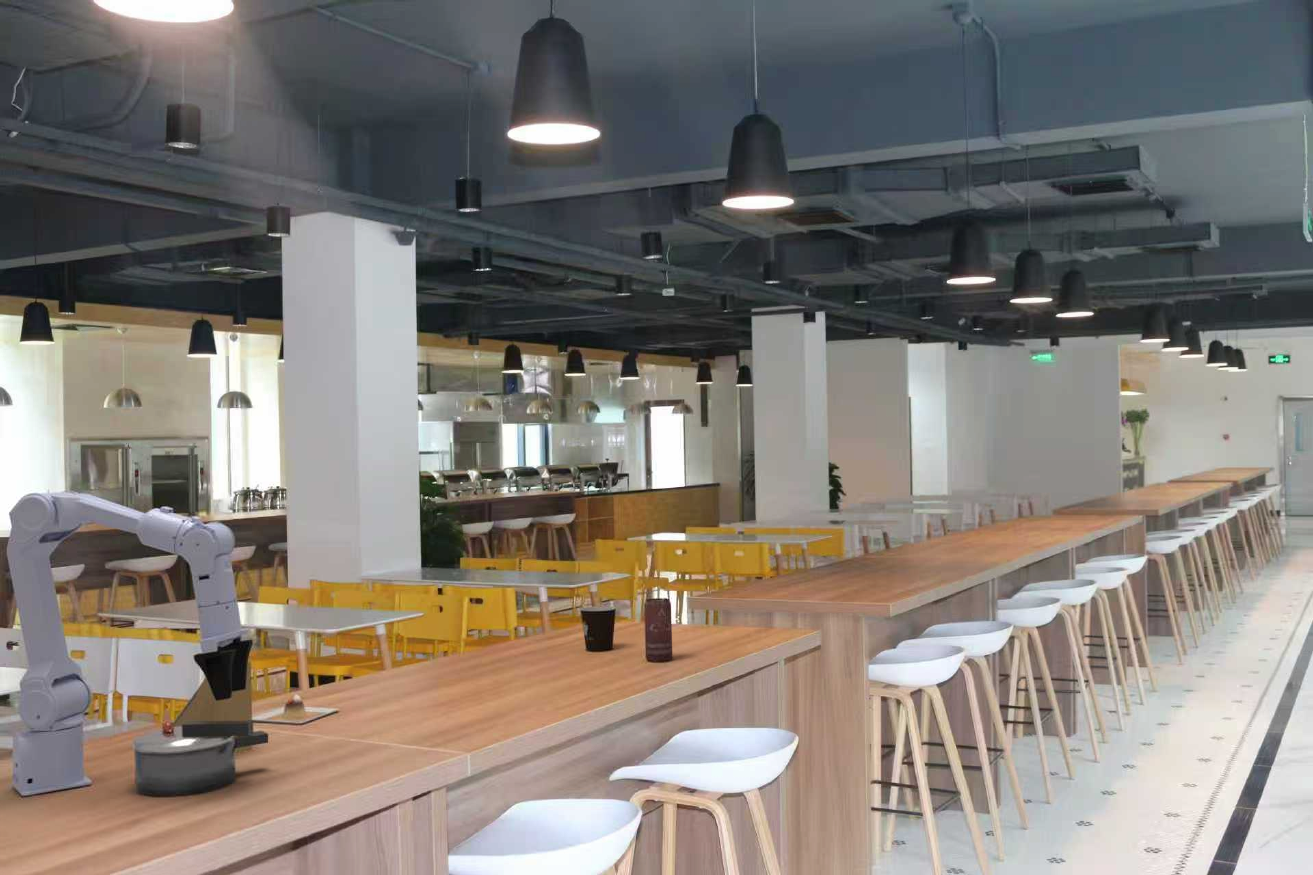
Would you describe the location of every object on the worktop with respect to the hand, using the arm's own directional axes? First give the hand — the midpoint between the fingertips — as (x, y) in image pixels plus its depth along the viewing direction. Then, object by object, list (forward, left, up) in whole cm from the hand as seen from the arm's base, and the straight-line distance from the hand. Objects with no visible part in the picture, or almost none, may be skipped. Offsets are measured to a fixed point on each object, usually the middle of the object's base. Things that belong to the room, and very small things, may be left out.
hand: (231, 694), depth 179 cm
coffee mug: (+110, +63, -14) cm, 128 cm away
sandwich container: (+3, +26, -14) cm, 30 cm away
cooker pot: (-2, +6, -13) cm, 15 cm away
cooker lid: (-4, +5, -7) cm, 10 cm away
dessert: (+25, +41, -14) cm, 50 cm away
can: (+110, +39, -14) cm, 118 cm away
